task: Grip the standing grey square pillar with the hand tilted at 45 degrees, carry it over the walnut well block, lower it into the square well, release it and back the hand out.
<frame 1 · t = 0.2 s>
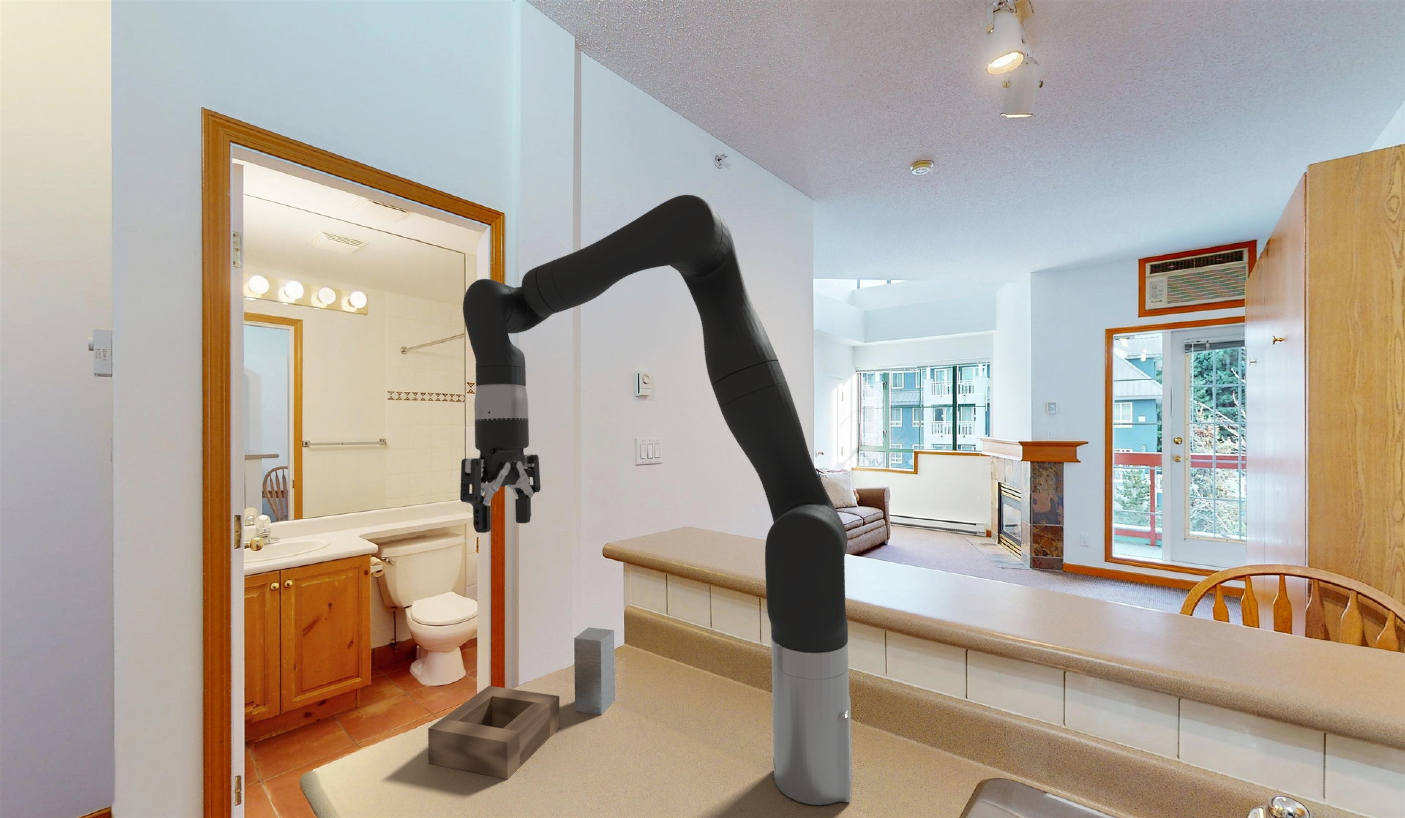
hand: (504, 527, 82), 29 cm above the counter, tool pointing down, fingers open, 8 cm apart
grey square pillar: (595, 705, 87), on the counter
well block: (497, 744, 76), on the counter
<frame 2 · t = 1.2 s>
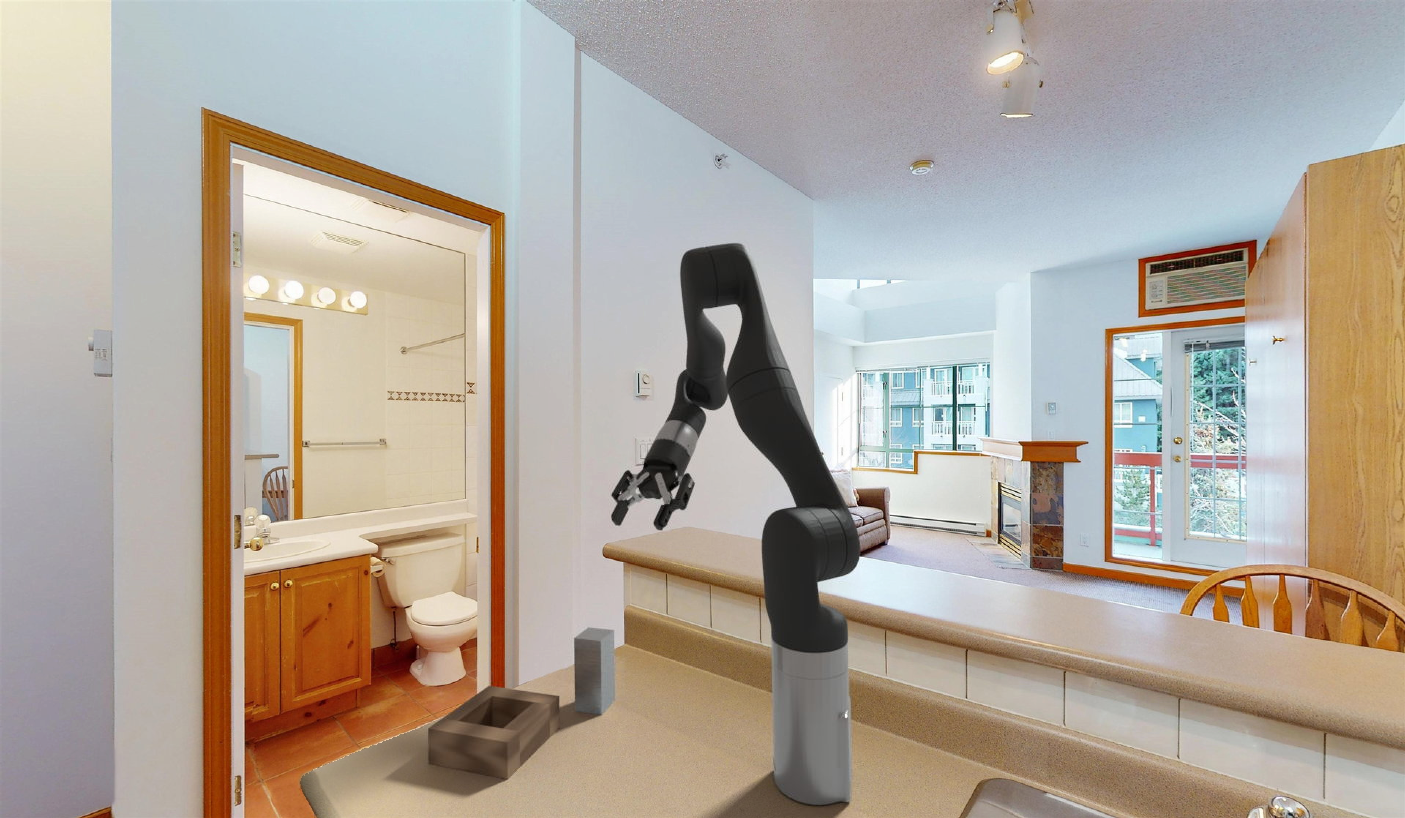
hand: (635, 525, 92), 27 cm above the counter, tool tilted 45°, fingers open, 8 cm apart
nothing on the counter moved.
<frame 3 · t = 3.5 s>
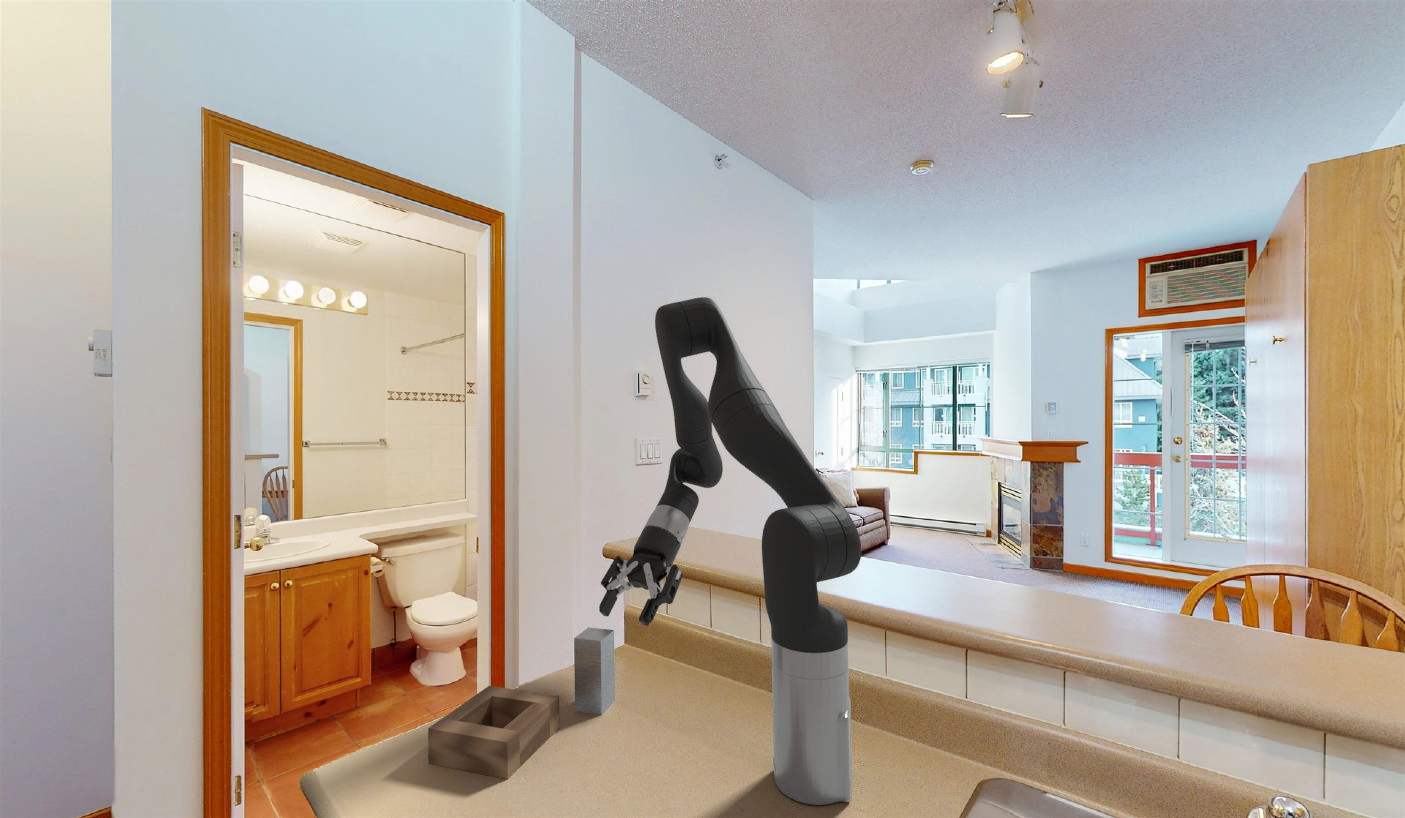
hand: (622, 618, 92), 11 cm above the counter, tool tilted 45°, fingers open, 8 cm apart
nothing on the counter moved.
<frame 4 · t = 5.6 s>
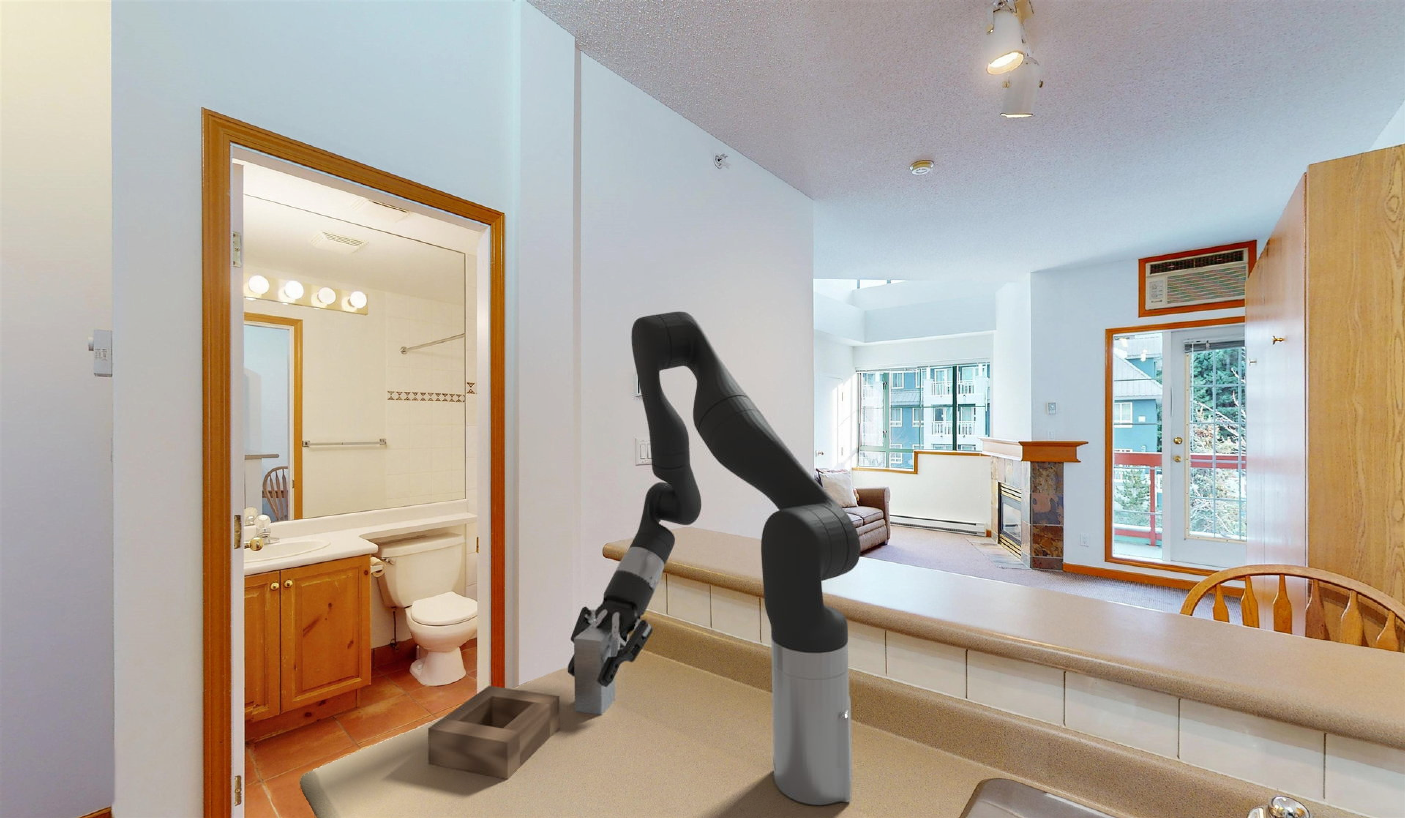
hand: (586, 679, 85), 5 cm above the counter, tool tilted 45°, fingers closed on grey square pillar, 5 cm apart
grey square pillar: (595, 705, 87), on the counter, touching gripper
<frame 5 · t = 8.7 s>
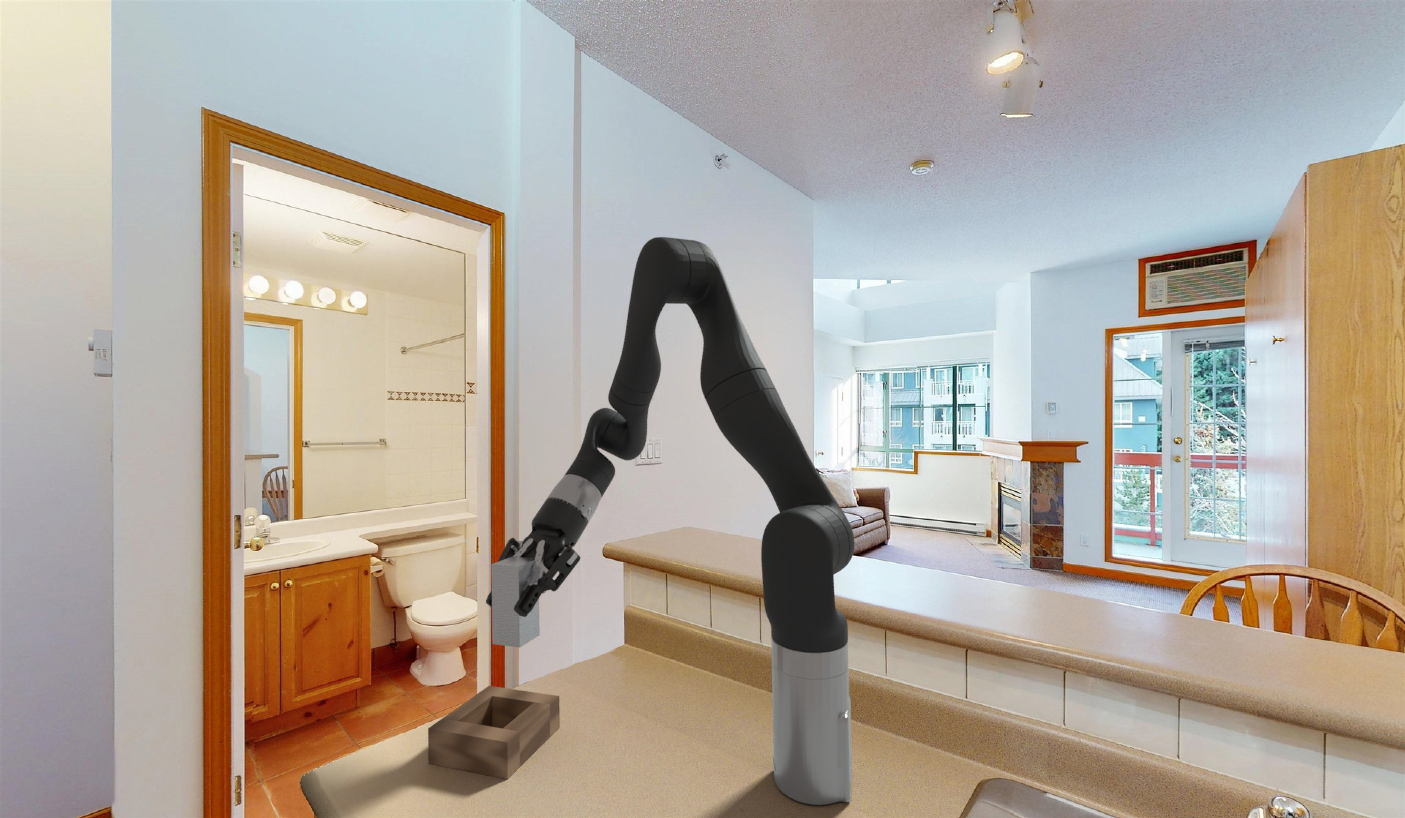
hand: (505, 609, 78), 18 cm above the counter, tool tilted 45°, fingers closed on grey square pillar, 5 cm apart
grey square pillar: (516, 639, 79), point 13 cm above the counter, touching gripper
when the fingers open (6 cm above the counter, at t = 11.8 s): grey square pillar drops 1 cm, resting in well block.
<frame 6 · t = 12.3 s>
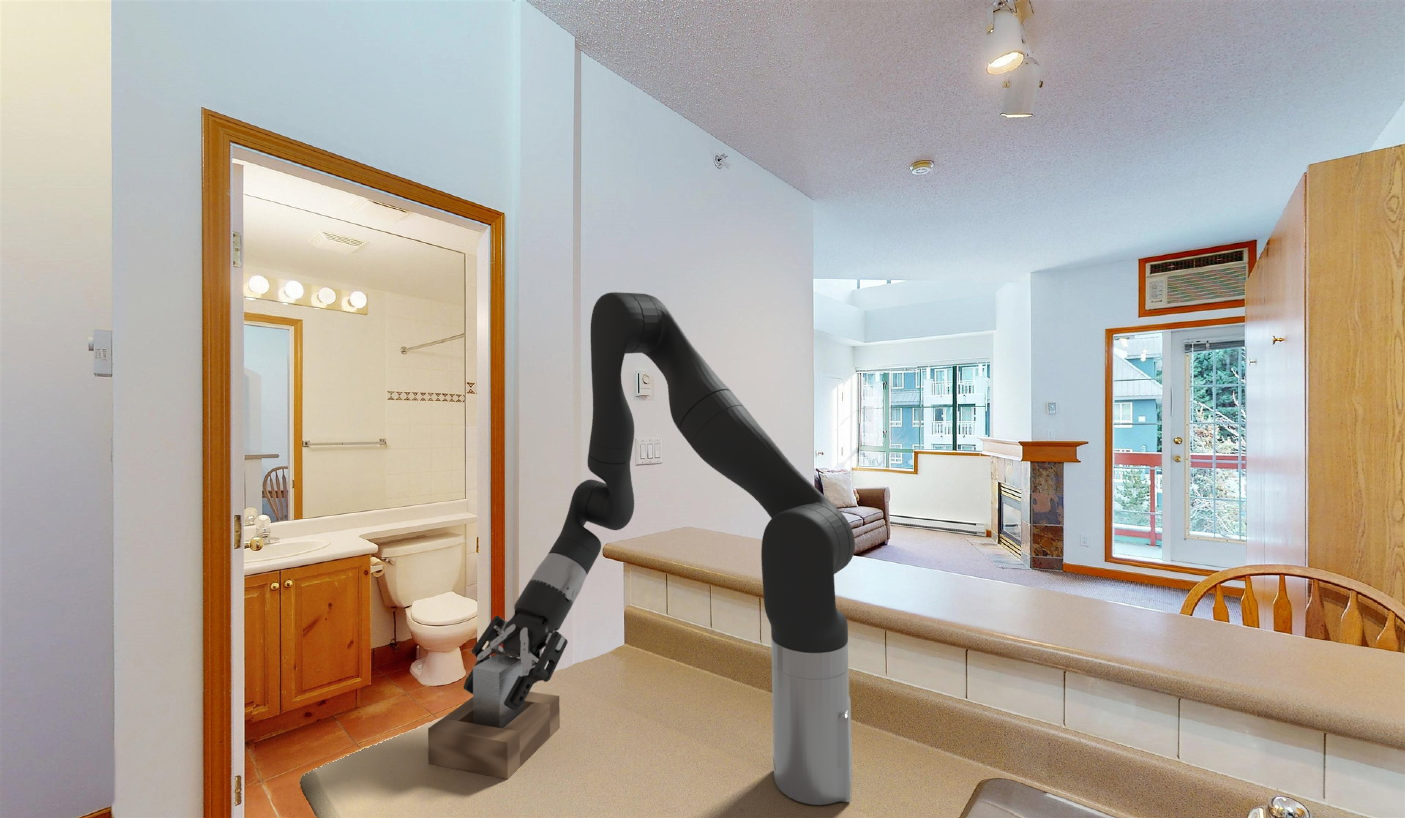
hand: (488, 699, 75), 7 cm above the counter, tool tilted 45°, fingers open, 8 cm apart
grey square pillar: (498, 743, 77), resting in well block
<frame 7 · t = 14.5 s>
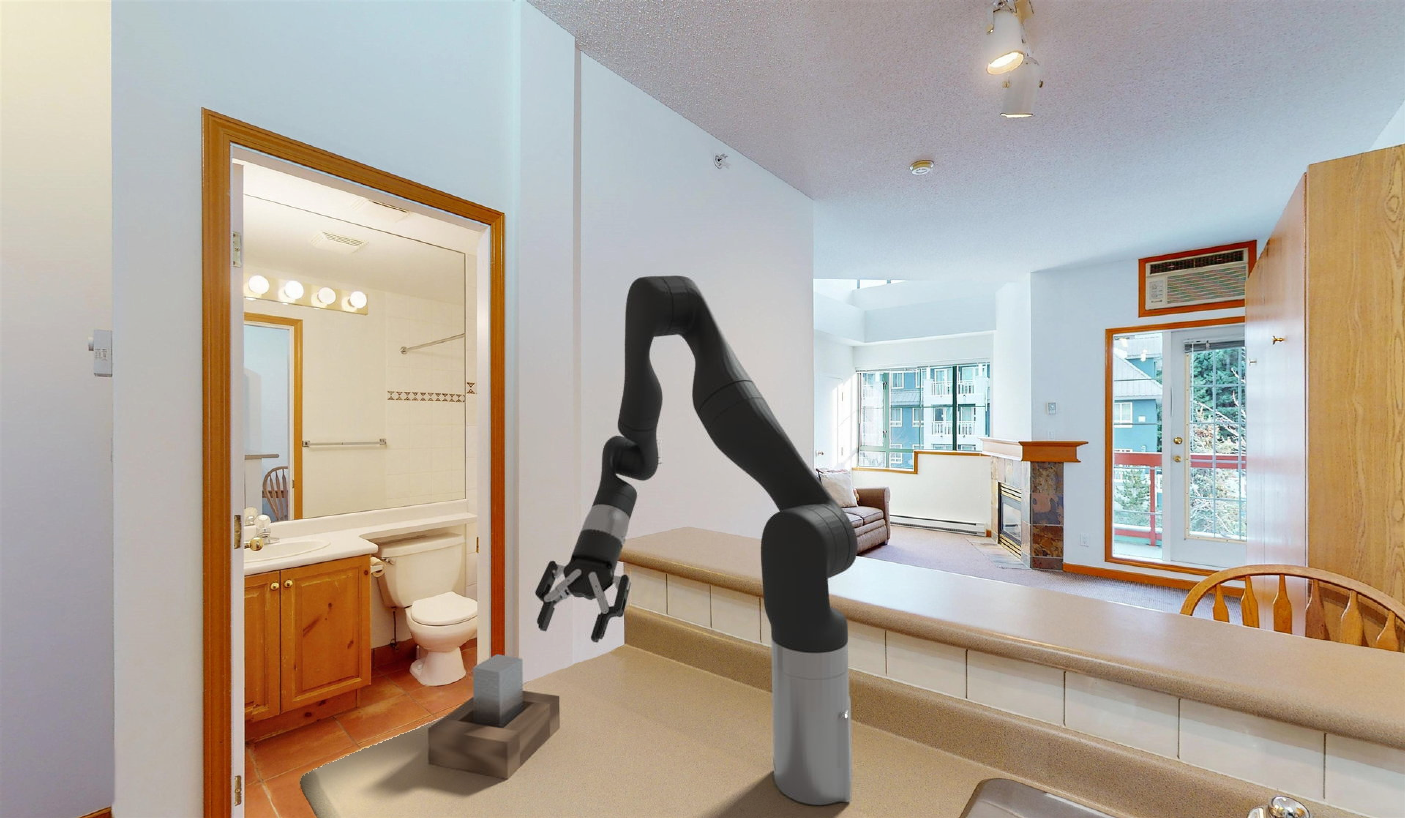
hand: (567, 635, 85), 12 cm above the counter, tool tilted 40°, fingers open, 8 cm apart
nothing on the counter moved.
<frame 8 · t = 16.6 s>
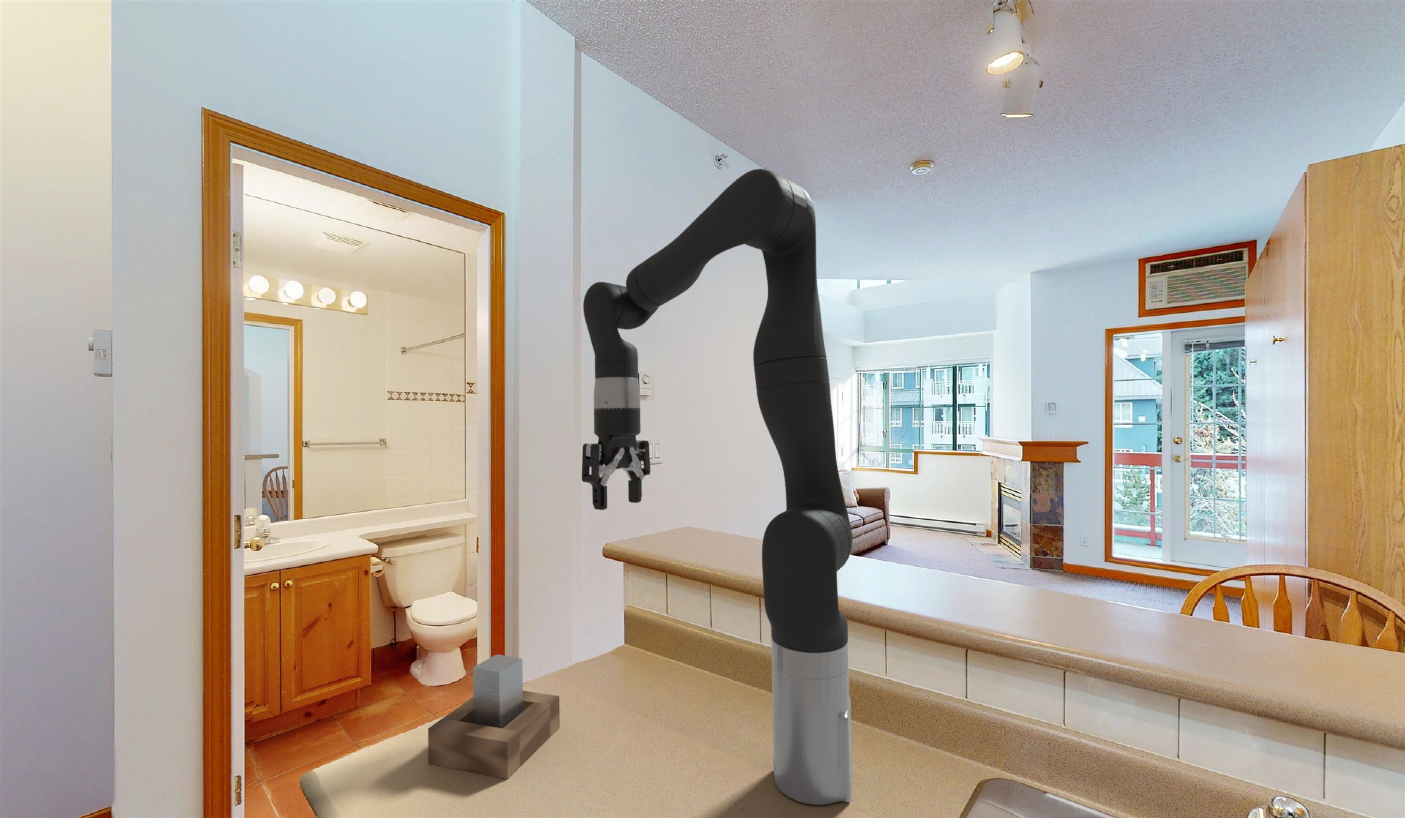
hand: (618, 505, 91), 30 cm above the counter, tool pointing down, fingers open, 8 cm apart
nothing on the counter moved.
at the end: grey square pillar 0.2 cm off-centre on the well block, point 0.0 cm above the well block's base; the gripper is holding nothing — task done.
